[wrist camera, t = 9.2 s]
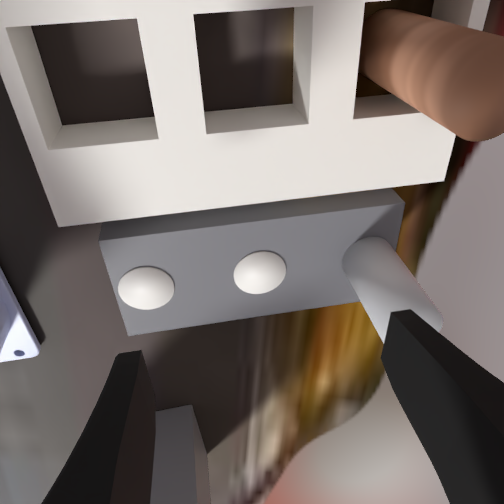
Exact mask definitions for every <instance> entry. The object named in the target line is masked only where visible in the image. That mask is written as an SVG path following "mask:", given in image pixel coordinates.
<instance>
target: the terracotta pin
mask: <svg viewBox="0 0 504 504" xmlns="http://www.w3.org/2000/svg"><path fill="white" fill-rule="evenodd" d="M358 70H359V72H360V73H361V74H362V75H364V76H365V77H367V78H368V79H370V80H371V81H373V82H374V83H376V84H378V85H379V86H381V87H382V88H384V89H385V90H387V91H389V92H390V93H392V94H393V95H395V96H396V97H398V98H400V99H401V100H403V101H404V102H406V103H407V104H409V105H410V106H412V107H414V108H415V109H417V110H418V111H420V112H421V113H423V114H425V115H426V116H428V117H429V118H431V119H432V120H434V121H435V122H437V123H439V124H440V125H442V126H443V127H445V128H446V129H448V130H450V131H451V132H453V133H454V134H456V135H457V136H459V137H460V138H462V139H465V140H468V141H475V142H476V141H485V140H489V139H492V138H494V137H497V136H499V135H501V134H502V133H504V37H503V36H499V35H495V34H491V33H487V32H484V31H480V30H476V29H472V28H468V27H465V26H461V25H457V24H453V23H449V22H446V21H442V20H438V19H434V18H430V17H426V16H423V15H419V14H415V13H411V12H407V11H404V10H400V9H395V8H386V9H382V10H379V11H377V12H375V13H374V14H372V15H371V16H370V17H368V18H367V19H366V20H365V21H364V23H363V26H362V36H361V46H360V55H359V65H358Z"/></svg>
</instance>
